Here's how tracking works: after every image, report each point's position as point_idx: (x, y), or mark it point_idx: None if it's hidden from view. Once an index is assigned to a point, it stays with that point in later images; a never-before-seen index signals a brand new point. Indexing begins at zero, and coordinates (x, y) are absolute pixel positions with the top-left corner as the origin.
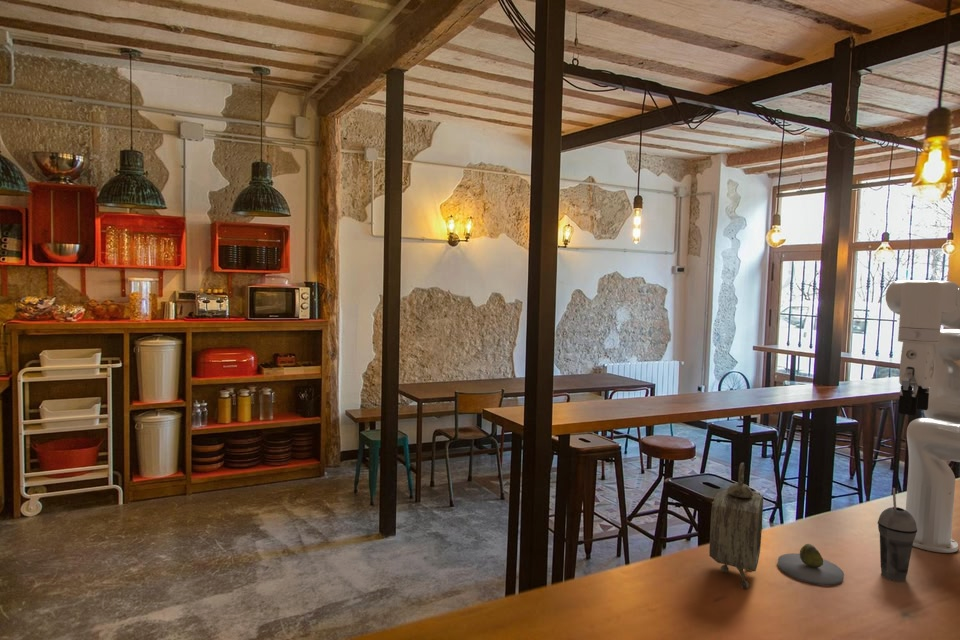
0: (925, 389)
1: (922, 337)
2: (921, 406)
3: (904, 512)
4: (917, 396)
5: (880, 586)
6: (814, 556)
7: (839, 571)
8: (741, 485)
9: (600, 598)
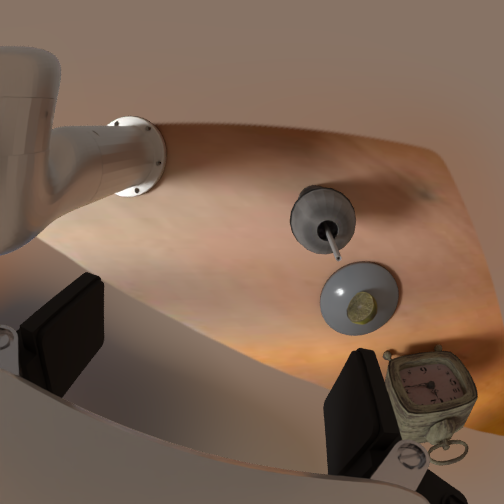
0: (20, 365)
1: None
2: (95, 309)
3: (338, 219)
4: (65, 365)
5: (359, 218)
6: (377, 307)
7: (357, 269)
8: (448, 438)
9: (478, 410)
